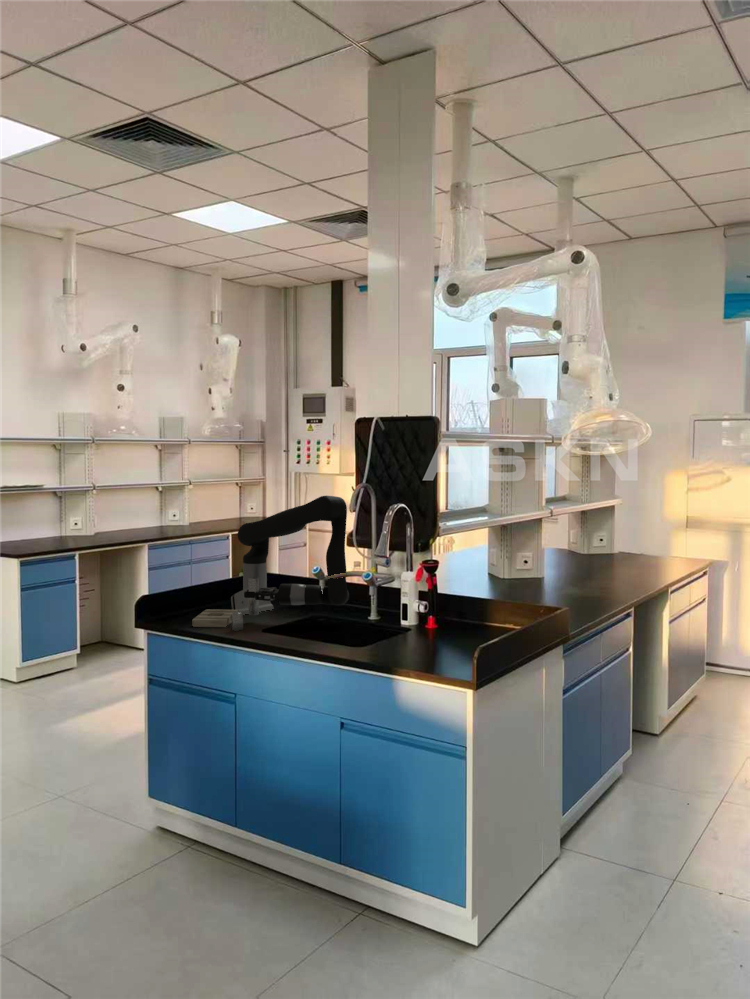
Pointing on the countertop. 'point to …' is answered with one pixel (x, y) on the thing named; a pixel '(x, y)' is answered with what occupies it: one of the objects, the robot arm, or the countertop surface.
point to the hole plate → (213, 618)
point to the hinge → (247, 603)
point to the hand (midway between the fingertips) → (245, 593)
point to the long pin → (252, 602)
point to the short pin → (237, 621)
